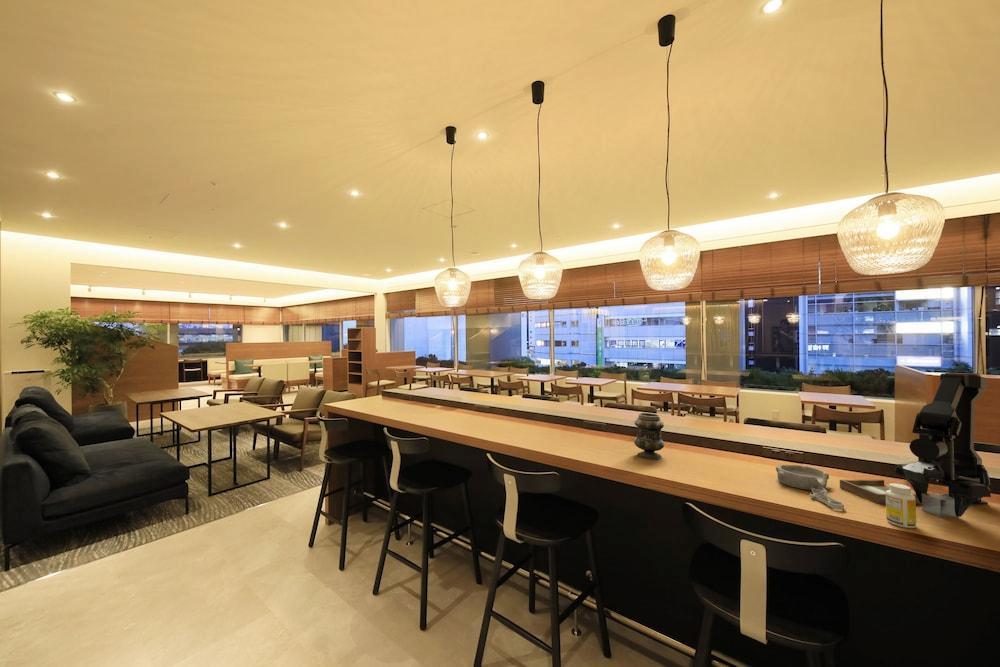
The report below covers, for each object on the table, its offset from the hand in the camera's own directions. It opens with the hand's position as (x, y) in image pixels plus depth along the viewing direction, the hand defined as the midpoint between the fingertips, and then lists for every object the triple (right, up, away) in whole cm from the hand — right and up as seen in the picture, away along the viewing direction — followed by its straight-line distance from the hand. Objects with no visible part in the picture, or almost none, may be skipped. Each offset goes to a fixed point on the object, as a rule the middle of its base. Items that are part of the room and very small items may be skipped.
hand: (939, 509), depth 107 cm
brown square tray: (-4, -2, +13) cm, 14 cm away
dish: (-22, -2, +22) cm, 31 cm away
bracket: (-25, -2, +9) cm, 27 cm away
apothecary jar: (-62, -3, +54) cm, 82 cm away
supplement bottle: (-18, -1, -6) cm, 19 cm away
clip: (0, -1, 0) cm, 1 cm away
